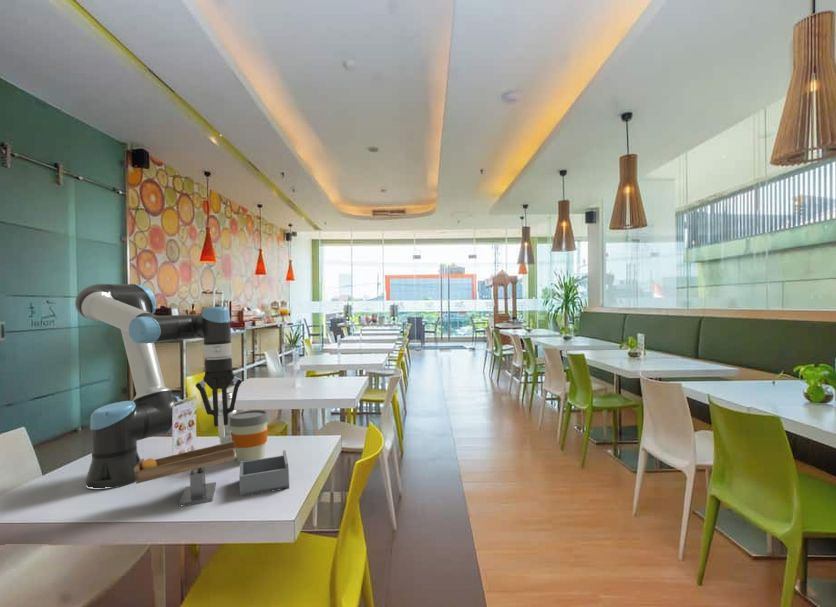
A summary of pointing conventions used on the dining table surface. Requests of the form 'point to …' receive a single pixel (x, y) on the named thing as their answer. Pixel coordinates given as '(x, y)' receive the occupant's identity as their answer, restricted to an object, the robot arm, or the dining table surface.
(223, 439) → the plastic bottle
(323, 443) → the dining table surface
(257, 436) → the reusable coffee cup
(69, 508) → the dining table surface
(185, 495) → the stand
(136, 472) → the chute
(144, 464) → the ball
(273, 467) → the grey tray
